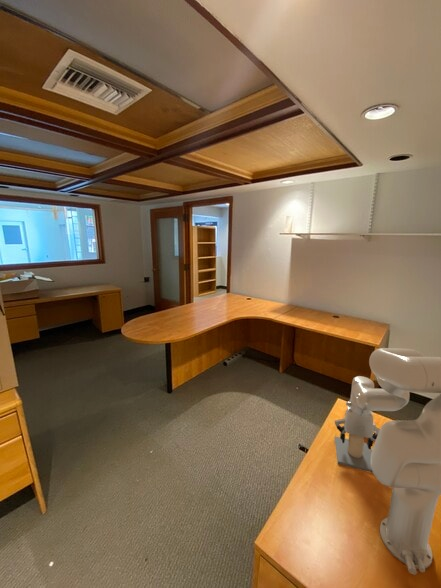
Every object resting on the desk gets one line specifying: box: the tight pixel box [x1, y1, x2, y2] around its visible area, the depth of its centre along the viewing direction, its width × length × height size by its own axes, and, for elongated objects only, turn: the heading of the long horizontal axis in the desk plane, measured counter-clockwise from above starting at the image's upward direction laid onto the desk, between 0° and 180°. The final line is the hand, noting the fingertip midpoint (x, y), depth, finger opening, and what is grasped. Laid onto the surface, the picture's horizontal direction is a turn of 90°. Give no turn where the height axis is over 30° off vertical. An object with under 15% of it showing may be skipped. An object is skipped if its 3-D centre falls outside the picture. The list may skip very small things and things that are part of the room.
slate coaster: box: [334, 435, 374, 474], centre depth 105 cm, size 14×14×1 cm
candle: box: [347, 433, 365, 458], centre depth 103 cm, size 6×6×10 cm
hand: (355, 443), depth 104 cm, fingers open, 9 cm apart
